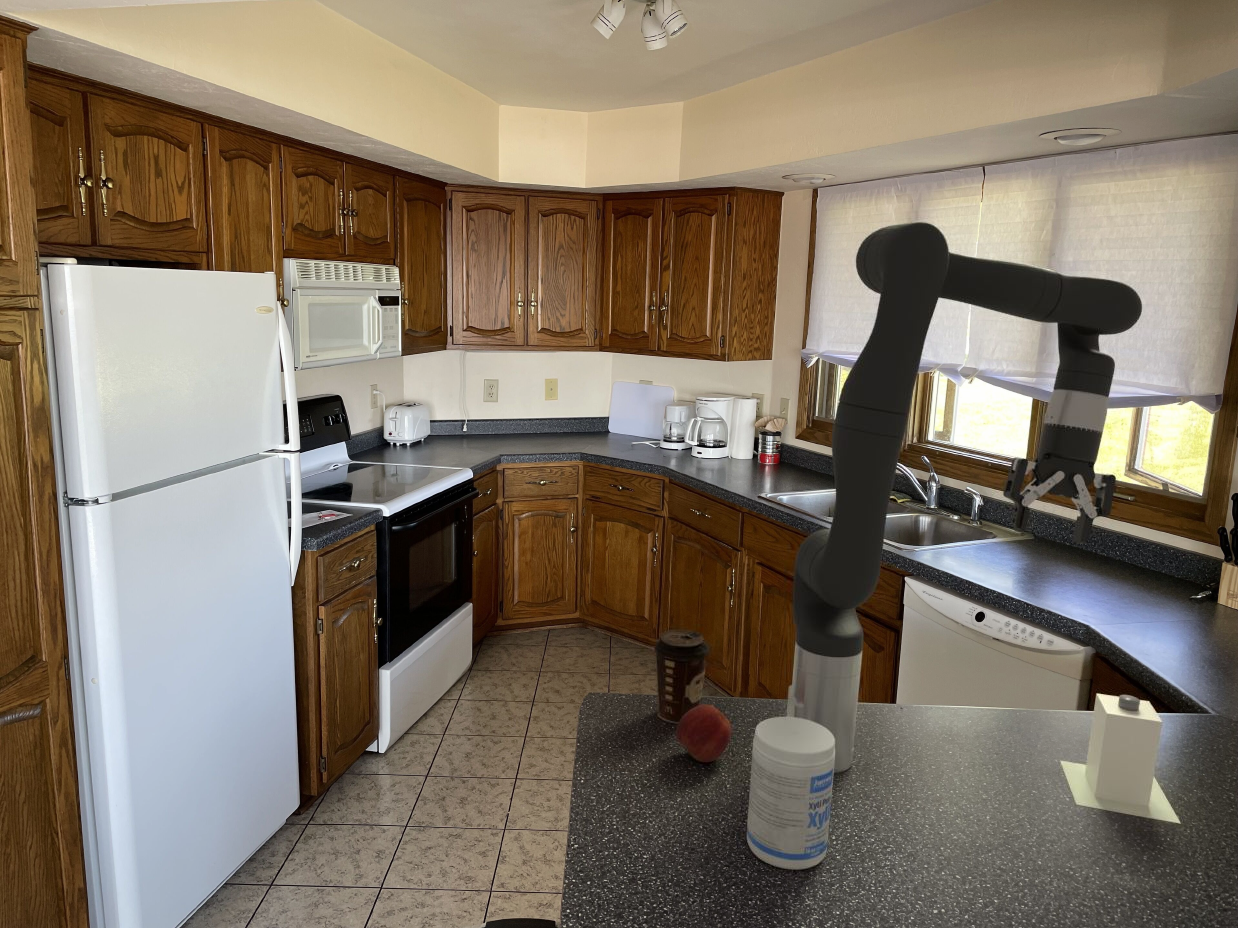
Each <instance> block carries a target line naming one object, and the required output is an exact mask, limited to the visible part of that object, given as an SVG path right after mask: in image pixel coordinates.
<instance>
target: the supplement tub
mask: <svg viewBox="0 0 1238 928" xmlns="http://www.w3.org/2000/svg"><path fill="white" fill-rule="evenodd" d="M754 731H755V732H754V736H753V741H752V753H751V768H750V782H749V798H748V809H747V810H748V811H747V823H746V824H747V825H746V841H747V844H748V846H749V849H750V850H751V852H752V853H753V854H754V855H755V856H756V857H757V858H758V859H760V860H761V861H763V862H764V863H767V864H769V865H771V866H773V867H777V868H781V869H786V870H805V869H809V868H812V867H815V866H816V865H818V864H819V863H821V862H822V861H823V859H824V858H825V856H826V855H827V849H828V840H829V827H830V818H831V817H830V816H831V807H832V806H831V805H832V798H833V797H832V793H833V783H834V774H835V773H834V763H835V738H834V736H833V734H832V733H831V732H830V731H829V730H828V729H826V728H825V727H823V726H822V725H820V724H817V723H815V722H812V721H809V720H806V719H802V718H795V717H787V716H777V717H776V716H775V717H769V718H767V719H764V720H762V721H760V722H759V723H758V724H757V725H756V727H755V730H754Z"/></svg>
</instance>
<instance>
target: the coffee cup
mask: <svg viewBox="0 0 1238 928" xmlns="http://www.w3.org/2000/svg"><path fill="white" fill-rule="evenodd" d="M653 649H654V652H655V654H656V657H655V660H656V662H655V663H656V665H655V666H656V684H657V688H656V692H657V705H658V710H657V716H658V718H660V719H661V720H663V721H664V722H668V723H670V724H671V723H672V724H676V725H678V723H679V721H680V720H681V718H682V717H683V716H684V715H685V714H686V713H687V712H688V711H689V710H691V709H692V708H694V707H696V706H699V705H700V701H701V698H702V694H703V686H704V680H705V673H706V667H707V663H706V660H705V658H707V656H709V655H710V651H711V648H710V646H709V645H708V642H707V641H705V638H704V636H703V635H702V634H701V633H699V632H696V631H695V630H687V629H686V630H685V629H670V630H667V631H664V632H662V633H660V635H659V639H658V640H657V641H656V642H655V644H654V646H653Z"/></svg>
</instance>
